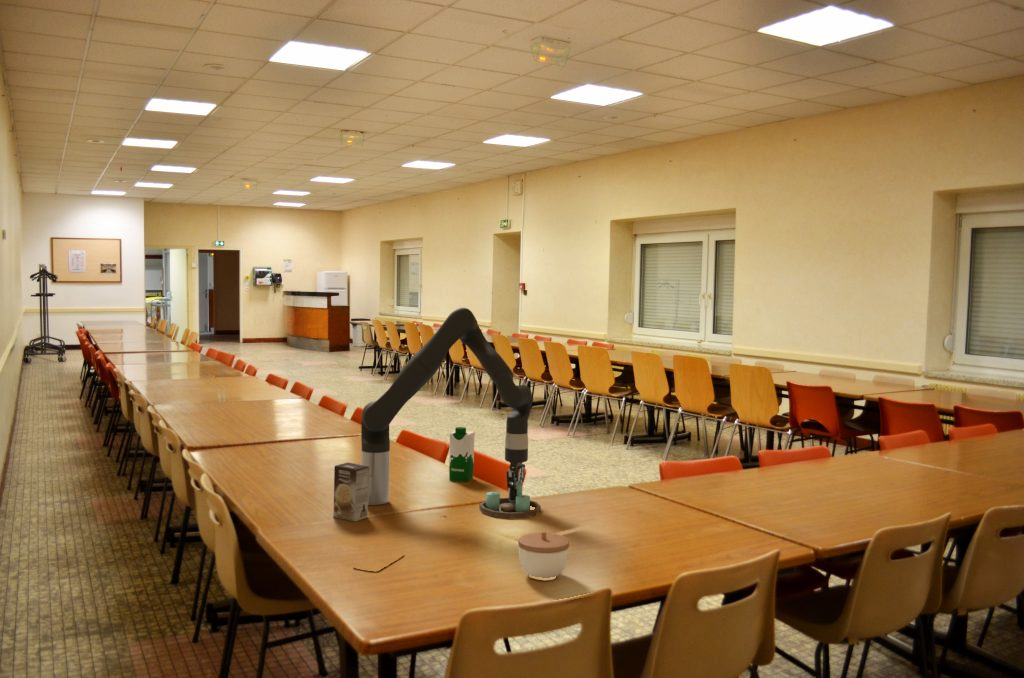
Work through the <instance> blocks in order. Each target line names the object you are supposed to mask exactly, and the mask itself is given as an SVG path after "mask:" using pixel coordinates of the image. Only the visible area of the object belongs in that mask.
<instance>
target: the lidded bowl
mask: <svg viewBox="0 0 1024 678" xmlns="http://www.w3.org/2000/svg"><path fill="white" fill-rule="evenodd" d="M517 544H518V545H517V546H518V559H519V563H520V567H521V568H522V570H523V571H524V572H525V573H526V574H527V575H528V574H529V575H531V576H535V577H542V578H550V577H555V576H557V577H558V576H560V574H562V573H563V571H564V570H565V568H566V565H567V563H568V560H569V547H570V541H569V539H568V538H567V537H566V536H564V535H561V534H556V533H551V532H547V531H541V532H529V533H525V534H523V535H521V536H519V537H518V539H517Z"/></svg>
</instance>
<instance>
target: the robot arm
mask: <svg viewBox="0 0 1024 678" xmlns="http://www.w3.org/2000/svg"><path fill="white" fill-rule="evenodd" d="M459 340H460V341H461V342H462V343H463V344H464V345H465V346H466V347H467V348H468V349H470V351H471V352H472V353H473V355H474V356H475V357H476V359H477V360H478V361H479V363H480V365H481V367H482V368H483V369H484V371H485V373H486V374H487V375H488V377H489V378H490V379H491V380H492V381H493V383H494V384H495V387H496V389H497V391H498V394H499V395H500V396H499V397H500V398H501V400H502V401H503V403H504V404H505V405H507V406H508V407H509V408H510V409H511V408H512V409H511V410H512V411H511V412H510V414H509V415H508V416H507V417H506V421H505V422H506V425H505V427H506V429H505V430H506V431H505V432H506V433H505V438H504V439H505V441H504V460H505V462H508V463H509V464H510V465H509V466H508V470H507V471H506V484H507V485H506V486H507V488H508V490H509V489H510V500H514V501H515V500H516V496H517V484H518V483H522V484H523V483H524V480H525V472H526V471H525V470H526V464H524V463H526V462H527V461H528V460H529V435H528V433H529V428H528V427H529V421H528V420H529V417H530V414H531V409H532V404H533V394H532V390H531V388H529V386H528V385H526V384H518V385H516V384H515V382H514V380H513V379H514V375H515V374H514V372H513V370H512V369H511V368H510V366H509V365H508V364H507V362H506V361H505V360H504V358H503V357H502V356H501V355H500V354H499V353H498V352H497V350H495V348H494V347H493V346H492V345H491V344H490V342H488V340H487V339H486V337H485V336H484V334H483V332H482V330H481V327H480V325H479V324H478V321H477V318H476V316H475V314H474V313H473V312H472V311H471V310H470V309H469V308H466V307H459V308H456V309H454V310H453V311H452V312H450V314H449V315H448V316H447V318H446V319H445V320H444V321H443V323H442V324H441V325H440V327H438V329H437V330H436V332H435V333H434V335H433V336H431V338H430V339H429V340H428V341H427V342H425V344H424V345H423V346H422V347H421V348H420V349H419V350H418V351H417V352H416V353H415V354H414V355H413V356H412V357H411V358H410V359H409V360H408V362H406V364H405V365H404V366H403V368H402V369H401V370H400V371H399V373H398V374H397V375H396V377H395V379H394V381H392V382H393V383H392V384H391V385H390V387H389V388H388V389H386V390H387V391H385V392H384V393H383V394H382V395H381V396H380V397H379V398H378V399H376V400H375V401H370V402H368V403H366V405H365V406H364V407H363V408H362V411H361V425H360V426H361V428H360V429H361V431H360V433H361V435H360V436H361V440H360V441H361V457H360V458H361V462H360V463H361V464H360V465H364V466H369V480H368V506H379V505H384V504H388V503H389V502H390V500H389V499H390V459H391V458H390V452H391V451H390V450H391V443H390V424H391V423H392V421H393V420H394V419H395V417H396V416H397V415H398V413H399V412H400V411H401V410H402V408H403V407H404V406H405V405H406V404H407V403H408V401H410V400H411V398H413V397H414V396H415V395H416V394H417V393H418V392H419V391H420V390H421V389H422V388H423V387H424V386H425V385H426V384H427V383H428V382H429V381H430V380H431V379H432V378H433V377H434V375H435V374H436V373H437V372H438V370H439V369H440V367H441V365H442V363H443V362H444V361H445V360H444V359H445V358H446V355H447V354H448V352H449V351H450V349H451V348H452V347H453V345H454V344H456V343H457V341H459ZM492 381H491V382H492ZM512 483H513V484H512Z"/></svg>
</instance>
